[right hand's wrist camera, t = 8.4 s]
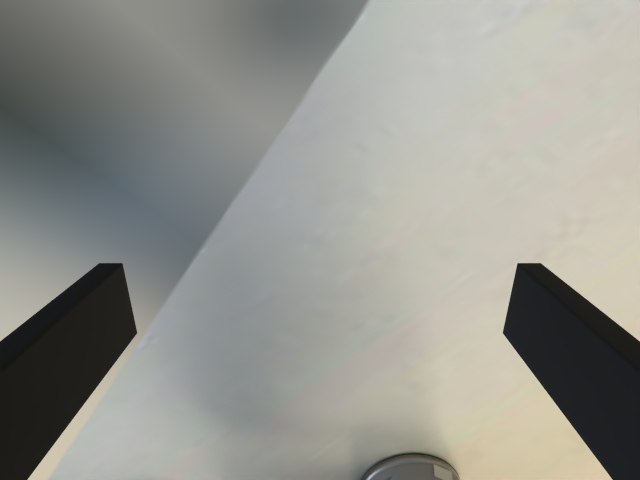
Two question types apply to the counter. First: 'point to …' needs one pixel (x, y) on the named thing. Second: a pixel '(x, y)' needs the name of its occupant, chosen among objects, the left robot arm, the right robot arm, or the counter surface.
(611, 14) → the counter surface
